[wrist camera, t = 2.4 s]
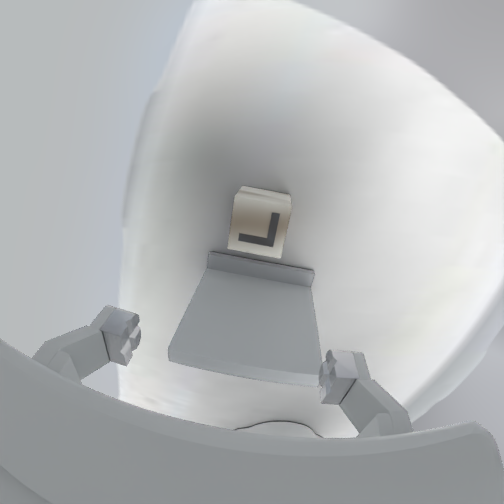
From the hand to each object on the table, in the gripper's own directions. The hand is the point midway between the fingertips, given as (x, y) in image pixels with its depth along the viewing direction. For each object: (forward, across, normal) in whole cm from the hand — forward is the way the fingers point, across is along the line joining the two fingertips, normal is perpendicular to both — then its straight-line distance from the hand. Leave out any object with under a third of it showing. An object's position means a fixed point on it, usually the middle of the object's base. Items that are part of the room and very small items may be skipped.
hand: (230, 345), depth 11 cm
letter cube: (+20, 0, 0) cm, 20 cm away
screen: (+20, -1, +8) cm, 21 cm away
